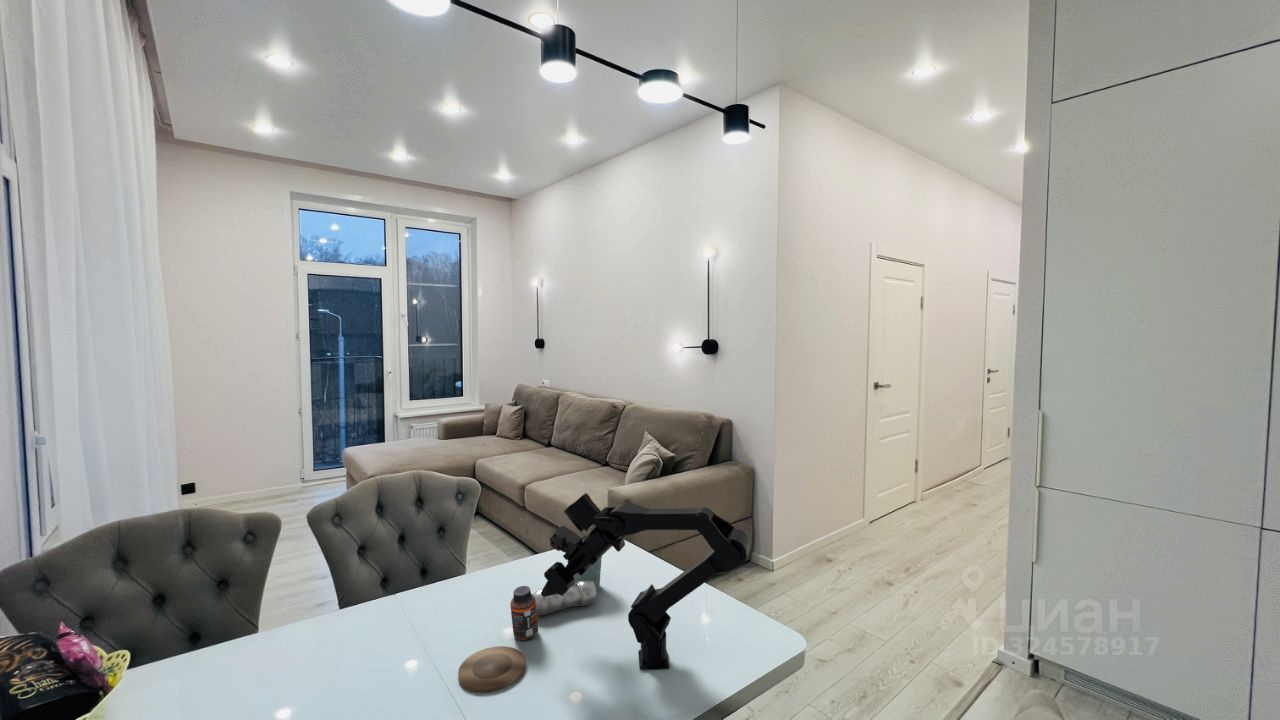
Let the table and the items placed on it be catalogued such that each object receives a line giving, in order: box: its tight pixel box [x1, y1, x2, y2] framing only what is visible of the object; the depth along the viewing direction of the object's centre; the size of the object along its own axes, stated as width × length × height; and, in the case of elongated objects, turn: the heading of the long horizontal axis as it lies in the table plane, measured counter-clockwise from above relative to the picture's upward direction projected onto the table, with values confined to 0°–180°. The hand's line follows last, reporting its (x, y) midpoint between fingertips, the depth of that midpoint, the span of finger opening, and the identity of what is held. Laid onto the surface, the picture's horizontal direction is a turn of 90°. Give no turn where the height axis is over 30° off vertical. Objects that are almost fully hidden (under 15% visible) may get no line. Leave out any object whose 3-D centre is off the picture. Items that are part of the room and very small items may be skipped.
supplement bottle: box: [509, 585, 539, 641], centre depth 123 cm, size 6×6×11 cm
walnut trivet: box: [457, 645, 527, 694], centre depth 111 cm, size 14×14×1 cm
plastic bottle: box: [533, 579, 597, 616], centre depth 135 cm, size 6×7×20 cm
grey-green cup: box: [573, 555, 603, 593], centre depth 147 cm, size 10×10×12 cm
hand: (551, 585), depth 121 cm, fingers open, 9 cm apart
